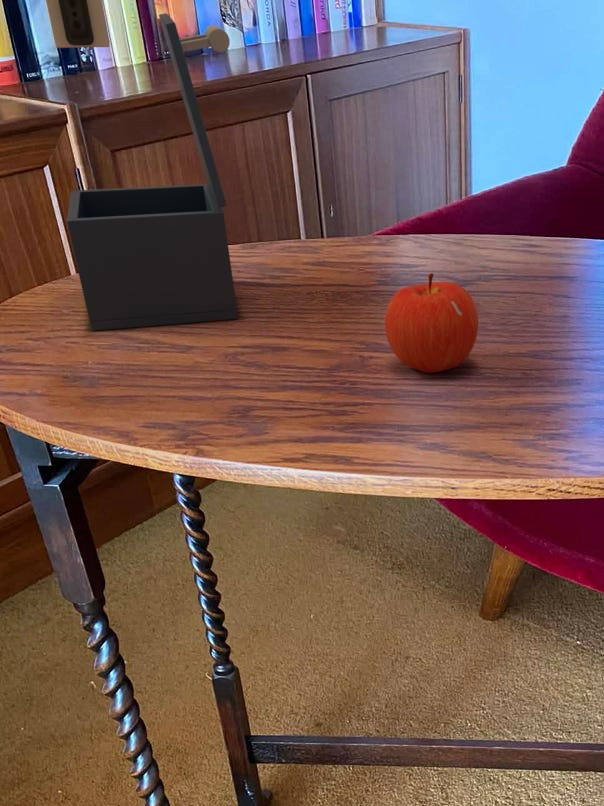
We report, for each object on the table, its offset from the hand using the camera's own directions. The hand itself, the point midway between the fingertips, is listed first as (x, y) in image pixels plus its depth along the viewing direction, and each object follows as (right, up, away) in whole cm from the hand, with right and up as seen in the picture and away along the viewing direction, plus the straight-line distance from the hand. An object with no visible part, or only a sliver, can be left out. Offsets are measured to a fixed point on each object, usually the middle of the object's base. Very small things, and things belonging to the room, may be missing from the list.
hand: (81, 41), depth 84 cm
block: (0, 0, 0) cm, 0 cm away
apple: (+31, -28, +1) cm, 42 cm away
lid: (+7, -3, +6) cm, 10 cm away
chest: (+2, -18, +15) cm, 23 cm away
